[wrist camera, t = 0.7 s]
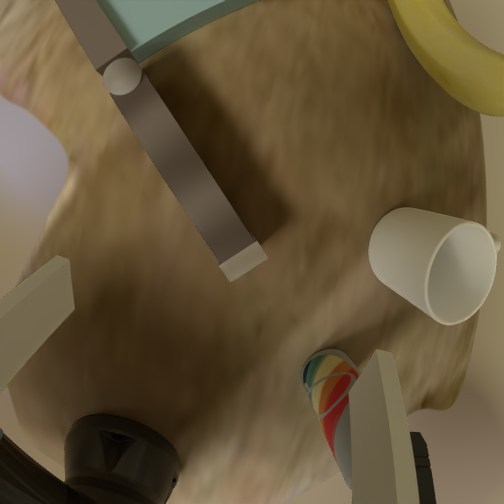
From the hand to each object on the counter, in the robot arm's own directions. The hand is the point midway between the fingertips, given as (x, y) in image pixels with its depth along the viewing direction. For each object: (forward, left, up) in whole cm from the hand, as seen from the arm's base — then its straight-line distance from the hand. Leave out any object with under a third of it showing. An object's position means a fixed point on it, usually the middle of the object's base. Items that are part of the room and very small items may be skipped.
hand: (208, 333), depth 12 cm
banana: (+30, +9, -17) cm, 35 cm away
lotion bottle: (+2, -18, -17) cm, 25 cm away
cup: (+17, -11, -17) cm, 26 cm away
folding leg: (+2, +7, -16) cm, 18 cm away
